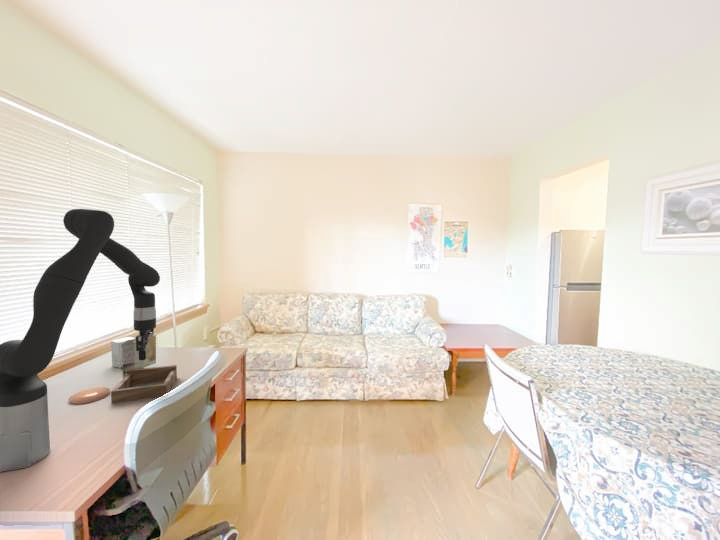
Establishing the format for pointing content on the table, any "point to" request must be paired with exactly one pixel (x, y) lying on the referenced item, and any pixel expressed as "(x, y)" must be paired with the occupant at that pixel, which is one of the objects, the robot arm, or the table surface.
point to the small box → (118, 351)
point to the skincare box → (147, 353)
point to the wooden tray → (144, 376)
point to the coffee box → (128, 357)
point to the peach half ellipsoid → (89, 395)
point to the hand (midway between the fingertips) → (145, 356)
